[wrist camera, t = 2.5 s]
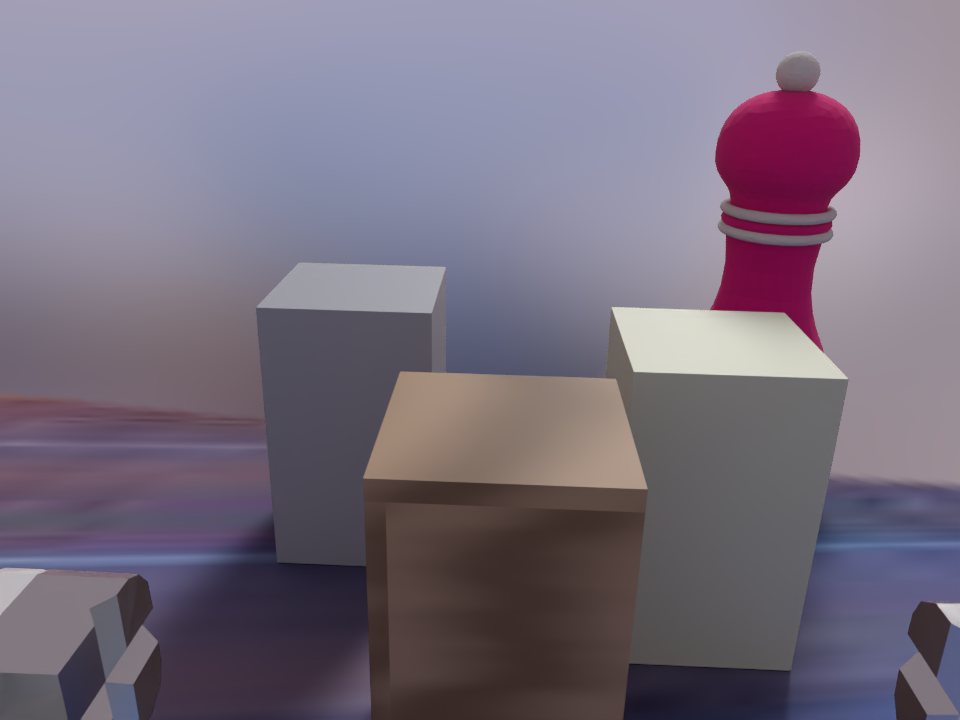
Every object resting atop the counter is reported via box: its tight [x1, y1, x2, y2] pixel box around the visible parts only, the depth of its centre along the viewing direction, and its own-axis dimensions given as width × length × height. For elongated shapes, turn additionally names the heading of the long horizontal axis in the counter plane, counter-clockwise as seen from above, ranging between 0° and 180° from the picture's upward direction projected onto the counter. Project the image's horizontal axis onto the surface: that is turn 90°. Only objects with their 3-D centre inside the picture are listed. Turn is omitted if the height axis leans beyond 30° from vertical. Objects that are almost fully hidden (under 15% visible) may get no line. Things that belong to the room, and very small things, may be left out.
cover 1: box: [256, 263, 446, 566], centre depth 35 cm, size 6×6×11 cm
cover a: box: [363, 371, 648, 720], centre depth 24 cm, size 6×6×11 cm
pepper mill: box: [710, 51, 860, 353], centre depth 39 cm, size 7×7×20 cm
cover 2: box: [606, 307, 849, 671], centre depth 30 cm, size 6×6×11 cm
